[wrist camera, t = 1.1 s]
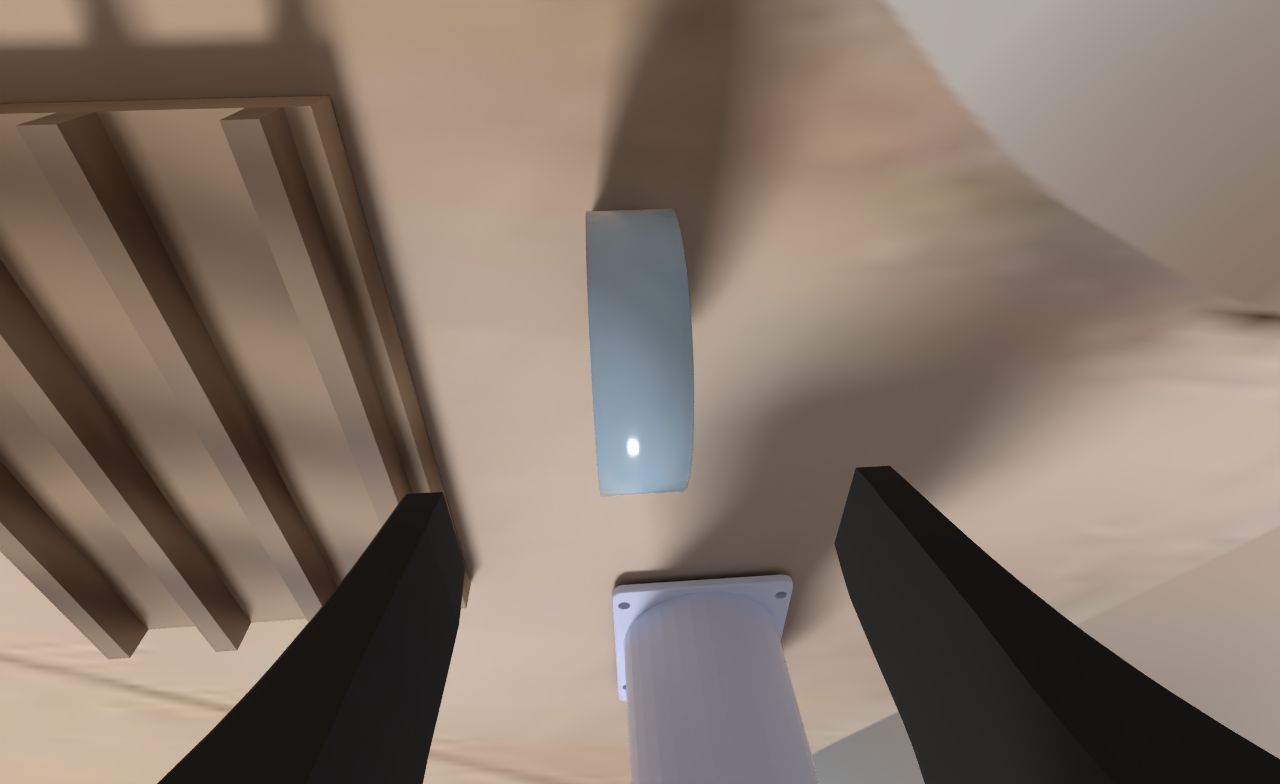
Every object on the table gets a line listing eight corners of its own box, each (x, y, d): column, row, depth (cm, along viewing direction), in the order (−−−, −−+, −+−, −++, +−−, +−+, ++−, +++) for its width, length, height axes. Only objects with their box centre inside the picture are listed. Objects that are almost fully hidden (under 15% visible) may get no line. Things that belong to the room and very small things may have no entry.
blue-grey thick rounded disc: (659, 383, 20) (686, 552, 14) (599, 387, 20) (603, 558, 14) (661, 170, 16) (701, 291, 10) (585, 172, 16) (584, 295, 10)
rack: (470, 583, 26) (461, 634, 24) (130, 605, 25) (91, 660, 23) (329, 95, 14) (288, 118, 12) (-302, 110, 14) (-447, 138, 12)
